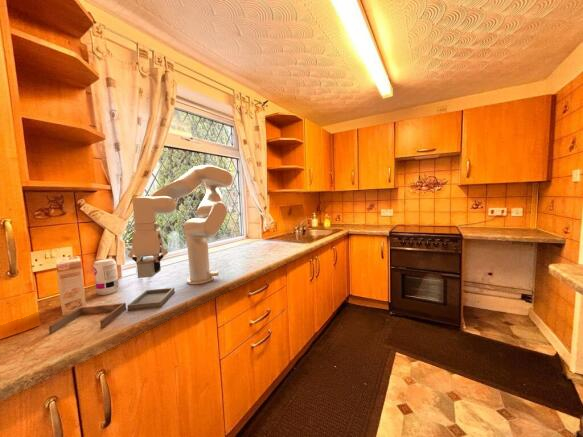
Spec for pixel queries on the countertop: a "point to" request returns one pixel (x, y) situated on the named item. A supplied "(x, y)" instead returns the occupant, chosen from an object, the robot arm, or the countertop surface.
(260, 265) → the countertop surface
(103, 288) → the supplement can
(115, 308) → the frame
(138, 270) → the grey rectangular box
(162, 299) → the tray
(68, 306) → the coffeecake box
